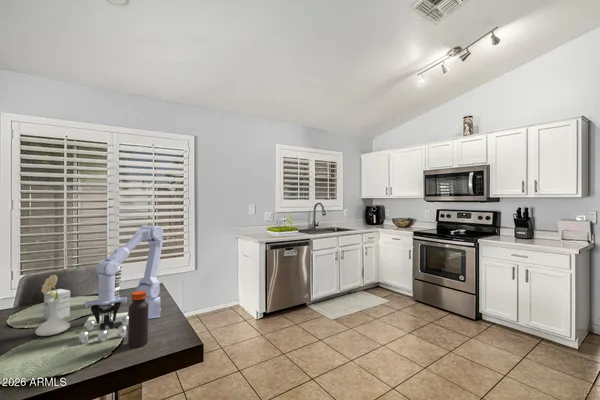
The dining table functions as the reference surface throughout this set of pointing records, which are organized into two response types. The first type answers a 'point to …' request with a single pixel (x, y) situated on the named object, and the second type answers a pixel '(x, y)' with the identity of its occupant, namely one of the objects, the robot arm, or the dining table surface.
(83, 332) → the spacer posts
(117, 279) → the decorative candle
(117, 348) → the dining table surface
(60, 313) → the supplement box
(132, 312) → the bottle
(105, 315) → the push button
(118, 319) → the sage mat
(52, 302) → the flower in vase
